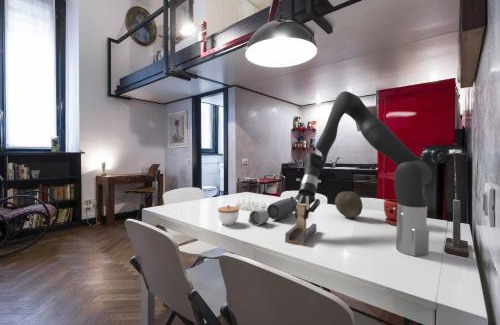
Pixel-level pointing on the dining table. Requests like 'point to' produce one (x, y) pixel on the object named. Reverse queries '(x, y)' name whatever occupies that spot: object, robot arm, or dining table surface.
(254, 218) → the ceramic mug
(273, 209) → the bluetooth speaker
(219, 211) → the lidded jar
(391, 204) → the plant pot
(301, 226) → the light brown wooden block
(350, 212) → the cantaloupe
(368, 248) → the dining table surface
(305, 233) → the door track
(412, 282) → the dining table surface
